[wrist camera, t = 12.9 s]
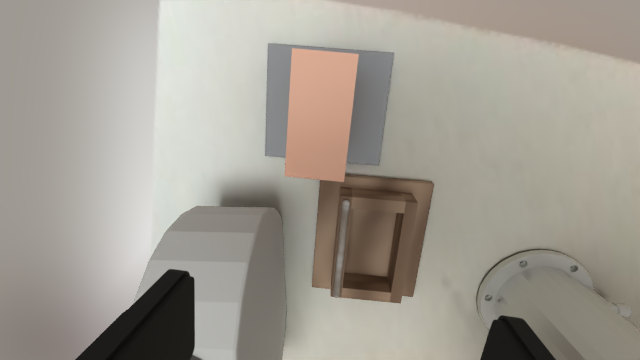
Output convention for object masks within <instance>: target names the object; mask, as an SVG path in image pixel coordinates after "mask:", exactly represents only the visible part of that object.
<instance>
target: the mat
mask: <svg viewBox="0 0 640 360" xmlns="http://www.w3.org/2000/svg"><path fill="white" fill-rule="evenodd" d="M292 48H297V49H308V50H319V51H331V52H342V53H353V54H359V56H358V65H357V74H356V82H355V91H354V100H353V108H352V117H351V126H350V134H349V143H348V152H347V160H346V163H355V164H367V165H379V161H380V153H381V146H382V138H383V130H384V123H385V115H386V108H387V100H388V93H389V85H390V78H391V70H392V62H393V55H394V53H391V52H377V51H364V50H350V49H336V48H323V47H309V46H296V45H282V44H268V62H267V103H266V144H265V156H273V157H285V158H286V144H287V126H288V109H289V92H290V74H291V57H292Z"/></svg>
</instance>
